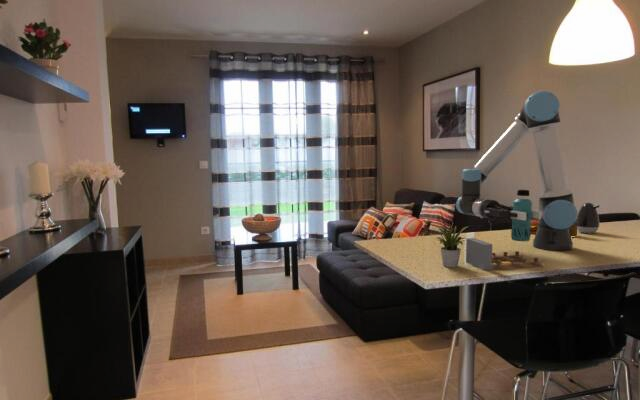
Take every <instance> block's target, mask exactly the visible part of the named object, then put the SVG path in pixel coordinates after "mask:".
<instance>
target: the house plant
mask: <svg viewBox="0 0 640 400" xmlns="http://www.w3.org/2000/svg"><path fill="white" fill-rule="evenodd" d="M432 225H433V226H434V227H435V231H436V232H437V233H439V235H440V236H441V237H440V236H438V237H436V238H434V239H435V240H437V242H438V241H439V245H441V244H443V246H441V247H440V254H441V255H440V256H441V260H442V266H443V267H447V268H457V267H458V266H459V263H460V257H461V256H460V255H461V250H462V248H461V247H458V246H459V245H460V244H461V245H463V244H464V243H463V242H464V241H465V242H466V240H463V239H465V237H462V236H460V234H461V233H462V232H463V231H465V230H466V229H467V228H469V226H464V227H463V228H462V229H460V231H458V232H457V225H455V226H454V227H453V225H454V222H452V224H451V226H450V229H449V230H448V229H447V226H446V225H445V224H444V223H443V222H442V223H441V227H439V226H437V225H436V224H433V223H432ZM437 229H438V230H437ZM456 232H457V233H456Z"/></svg>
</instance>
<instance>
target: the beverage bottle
mask: <svg viewBox="0 0 640 400" xmlns="http://www.w3.org/2000/svg"><path fill="white" fill-rule="evenodd" d="M516 196H519V197H530V189H529V190H528V189H518V190H517V192H516ZM512 203H513V206H512V207H513V211H519V212H525V213H526V220H519V219H513V218H511V230H510V231H511V232H510V238H511V240H512V241H516V242H529V241H531V235H532V234H530V228H531V220H532V218H531V210H532V207H533V205H532V204H533V201H531V200H530V199H529V198H516V199H514V200H513V202H512Z"/></svg>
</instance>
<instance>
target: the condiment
mask: <svg viewBox="0 0 640 400" xmlns="http://www.w3.org/2000/svg"><path fill="white" fill-rule="evenodd" d="M577 226H578V218H577V219H576V221H575V223H574V224H573V225H572V226H570V227H569V232H570V236H577V235H578V229H577Z"/></svg>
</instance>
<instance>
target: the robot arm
mask: <svg viewBox="0 0 640 400" xmlns="http://www.w3.org/2000/svg"><path fill="white" fill-rule="evenodd" d="M560 106H561V105H560V101H559V98H558V97H557V96H556V95H555V93H553V92H551V91H546V90H539V91H536V92H533V93H531V95H529V96H528V98H526V100H525V102H524V104H523V106H522V108H521V109H520V111H519V112H518V113H517V115H516V116H515V117H514V121H513V122H512V124H511V125H509V127H508V128H507V129H506V130H505V131H504V133H503V134H501V136H500V137H499V138H498V139H497V140H496V141H495V143H494V144H493V145H492V146H491V147H490V148H489V149H488V150H487V151H486V152H485V154H484V155H482V157H481V158H479V160H478V161H477V162H476V163H475V164H474V165H473V167H472V168H464V169H463V170H462V174H461V196H460V197H458V199H456V202H455V207H456V210H457V211H458V212H459V213H461V214H463V215H467V216H473V217H474V216H475V217H480V219H483V218H484V219H489V220H494V219H497V218H501V219H505V220H508V221H510V219H512V218H513V219H519V220H526V213H525V212H519V211H513V206H511V205H510V206H509V205H508V206H507V205H503V204H502V205H501V204H500V202H499V201H497V200H495V199H489V198H481V187H482V186H481V185H482V183H483V182H485V180H486V179H488V177H489V176H490V175H491V174H492V173H493V172H494V170H496V169H497V167H498V166H500V164H501V163H502V162H503V161H504V160H505V159H506V158H507V157H508V156H509V155H510V154H511V153H512V152H513V150H514V149H515V148H516V147H517V146H519V144H520V143H521V142H522V141H523V140H524V139H525V137H527V135H528V134H529V133H532V136H533V142H534V148H535V153H536V159H537V166H538V171H539V177H540V183H541V191H542V192H541V193H540V195H539V196H538V197H539V198H538V210H532V209H531V219H534V220H538V230H537V233H536V234H534V238H533V239H532V240H533V241H532V246H533V247H534V248H537V249H542V250H548V251H571V250H573V249H572V248H574V243H573V240H572V239H573V238H571V236H570V232H569V227H570V226H572V225H573V224H574V223H575V221H576V219H577V215H578V213H579V211H578V209H577V207H576V206H575V201H574V196H573V191H571V190H569V189H568V187H567V180H566V174H565V169H564V162H563V157H562V151H561V145H560V138H559V133H558V127H559V125H560V124H561V117H560V116H561V115H560V112H559V110H560ZM570 249H571V250H570Z"/></svg>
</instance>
